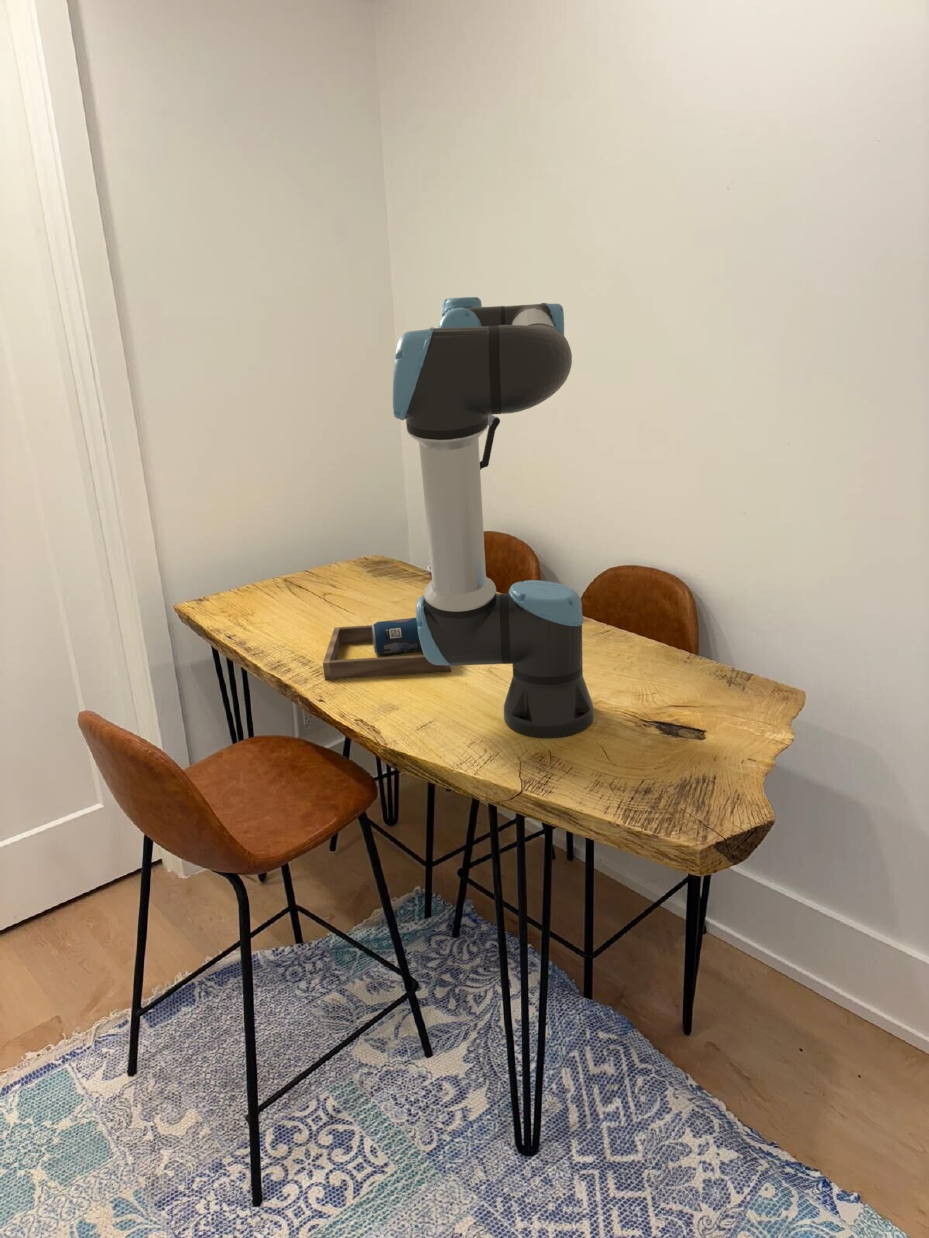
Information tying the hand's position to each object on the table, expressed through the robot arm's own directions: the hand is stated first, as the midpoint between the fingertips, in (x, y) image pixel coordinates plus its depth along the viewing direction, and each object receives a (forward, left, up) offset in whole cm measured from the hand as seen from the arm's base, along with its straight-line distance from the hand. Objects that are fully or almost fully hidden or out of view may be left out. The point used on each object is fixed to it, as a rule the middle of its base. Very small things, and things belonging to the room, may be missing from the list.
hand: (471, 502), depth 170 cm
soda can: (-6, +22, -26) cm, 35 cm away
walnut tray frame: (-8, +18, -29) cm, 36 cm away
